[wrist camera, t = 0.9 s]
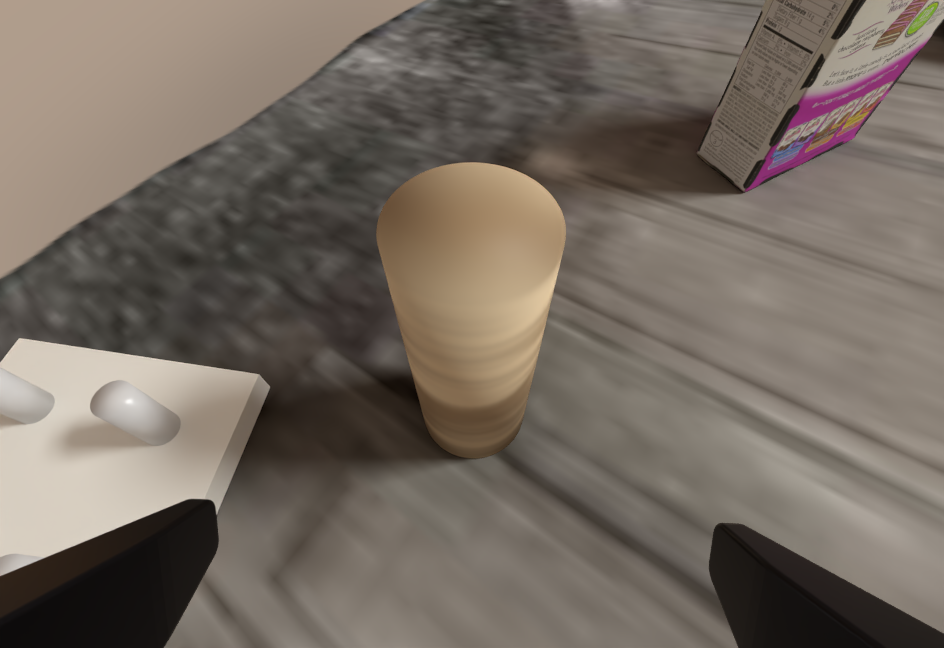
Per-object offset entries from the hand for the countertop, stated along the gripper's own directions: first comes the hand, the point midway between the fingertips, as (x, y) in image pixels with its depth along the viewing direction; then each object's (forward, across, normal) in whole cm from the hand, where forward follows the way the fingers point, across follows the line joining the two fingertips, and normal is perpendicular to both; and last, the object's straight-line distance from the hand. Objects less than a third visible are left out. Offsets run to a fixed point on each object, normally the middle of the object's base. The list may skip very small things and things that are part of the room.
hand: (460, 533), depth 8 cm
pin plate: (+11, +18, +7) cm, 22 cm away
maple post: (+15, 0, +4) cm, 15 cm away
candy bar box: (+29, -20, -11) cm, 37 cm away
